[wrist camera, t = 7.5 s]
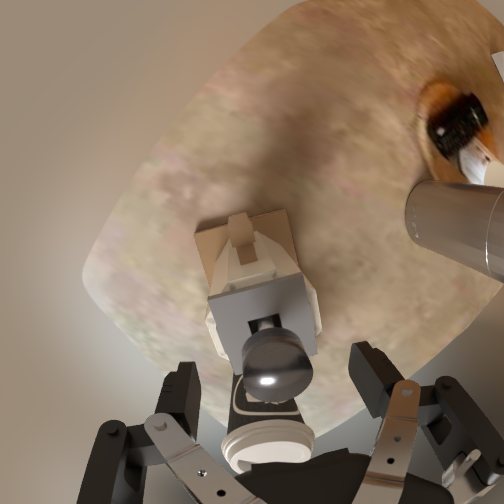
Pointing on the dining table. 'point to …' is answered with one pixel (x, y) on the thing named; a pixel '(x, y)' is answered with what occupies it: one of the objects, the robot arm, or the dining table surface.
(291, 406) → the coffee cup
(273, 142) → the dining table surface
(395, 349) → the dining table surface
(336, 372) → the dining table surface
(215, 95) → the dining table surface
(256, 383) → the plunger
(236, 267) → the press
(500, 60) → the milk carton
